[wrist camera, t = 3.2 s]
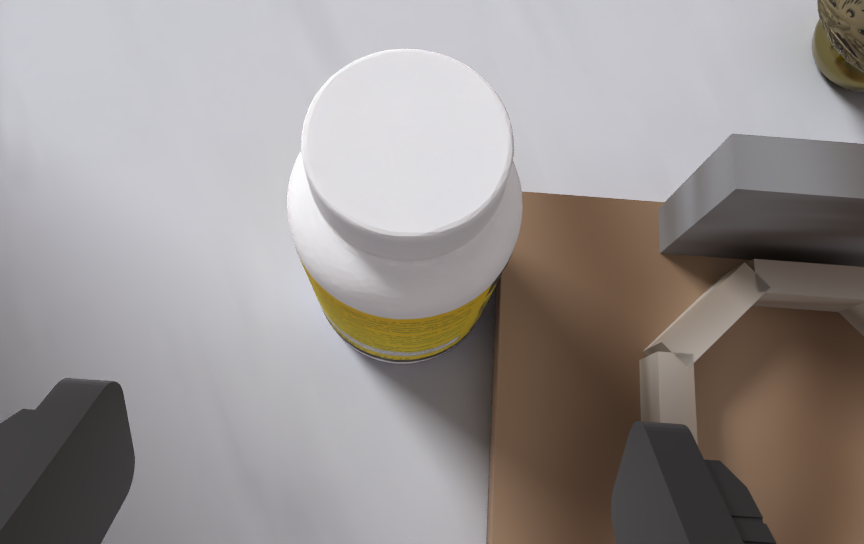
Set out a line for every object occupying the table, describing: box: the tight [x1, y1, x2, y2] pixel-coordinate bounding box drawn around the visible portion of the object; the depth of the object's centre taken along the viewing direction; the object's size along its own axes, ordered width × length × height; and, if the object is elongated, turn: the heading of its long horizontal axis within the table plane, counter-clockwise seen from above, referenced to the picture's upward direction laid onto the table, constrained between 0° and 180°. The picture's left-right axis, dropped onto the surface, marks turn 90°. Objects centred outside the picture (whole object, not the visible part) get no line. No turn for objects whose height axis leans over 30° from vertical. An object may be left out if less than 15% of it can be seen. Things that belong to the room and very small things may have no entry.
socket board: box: [486, 134, 864, 544], centre depth 18 cm, size 18×14×6 cm
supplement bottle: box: [287, 49, 523, 364], centre depth 17 cm, size 5×5×10 cm
